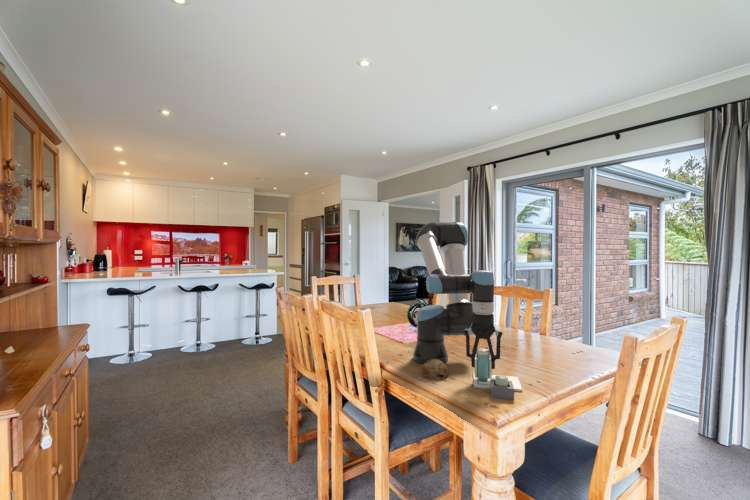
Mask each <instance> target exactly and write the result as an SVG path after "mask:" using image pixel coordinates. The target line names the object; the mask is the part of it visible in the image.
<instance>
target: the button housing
mask: <svg viewBox="0 0 750 500" xmlns="http://www.w3.org/2000/svg"><path fill="white" fill-rule="evenodd" d="M489 390H490V398H494V399H503V400H504V399H505V400H512V401H513V400H514V401H515V391H514V387H513V384H512V381H508V387H501V386H495V379H490V389H489Z"/></svg>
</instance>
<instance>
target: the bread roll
mask: <svg viewBox="0 0 750 500" xmlns="http://www.w3.org/2000/svg"><path fill="white" fill-rule="evenodd" d="M421 374H422V376H423V377H424V378H427V379H430V380H436V381H439V380H442V379H445V378H448V376H449V369H448V366H447V365H446V363H443V362H442V361H440V360H438V359H430V360H428V361H427V362H426V363H424V364H422V366H421Z"/></svg>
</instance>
